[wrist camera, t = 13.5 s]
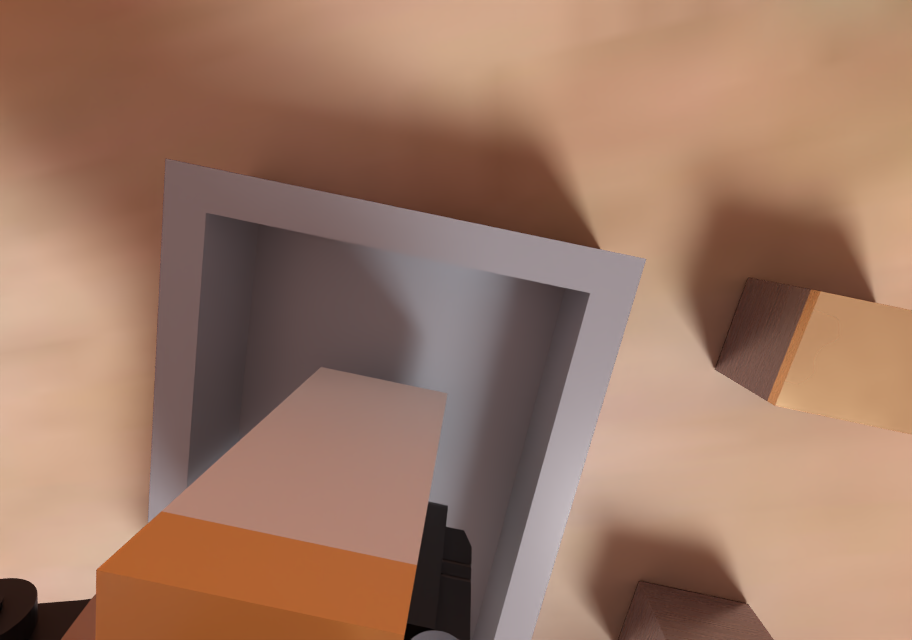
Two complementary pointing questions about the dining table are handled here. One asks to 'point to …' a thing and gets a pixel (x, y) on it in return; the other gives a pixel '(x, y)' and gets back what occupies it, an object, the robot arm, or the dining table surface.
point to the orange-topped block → (290, 526)
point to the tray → (392, 351)
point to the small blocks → (799, 388)
